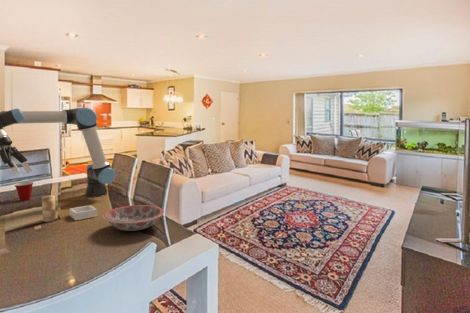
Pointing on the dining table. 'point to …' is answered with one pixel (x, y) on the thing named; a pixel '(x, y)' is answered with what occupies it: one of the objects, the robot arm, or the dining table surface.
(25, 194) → the plastic cup
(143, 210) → the ceramic bowl
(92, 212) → the square tray
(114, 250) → the dining table surface
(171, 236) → the dining table surface
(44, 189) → the dining table surface
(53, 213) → the oak rail post
